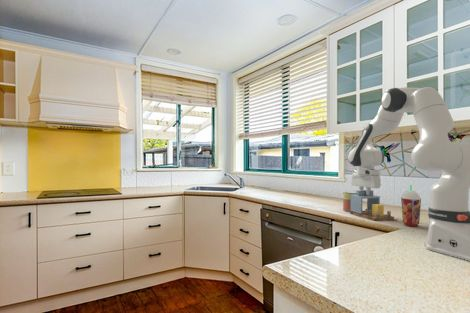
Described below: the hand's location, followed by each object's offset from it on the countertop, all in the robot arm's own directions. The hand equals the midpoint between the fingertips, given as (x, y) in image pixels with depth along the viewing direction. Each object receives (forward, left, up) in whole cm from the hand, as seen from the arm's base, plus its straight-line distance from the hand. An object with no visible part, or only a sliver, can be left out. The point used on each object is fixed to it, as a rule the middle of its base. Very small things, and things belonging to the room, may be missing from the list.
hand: (364, 194), depth 157 cm
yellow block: (-10, 0, -10) cm, 14 cm away
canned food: (+12, -1, -12) cm, 17 cm away
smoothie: (-27, -4, -12) cm, 30 cm away
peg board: (-5, 0, -12) cm, 13 cm away
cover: (0, 0, -10) cm, 10 cm away
